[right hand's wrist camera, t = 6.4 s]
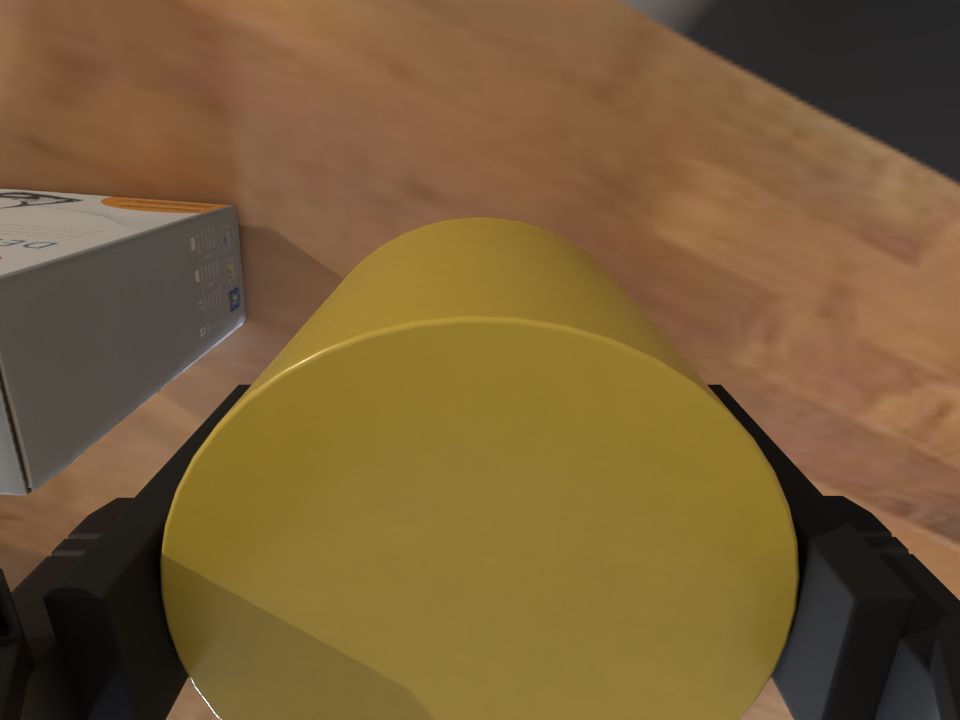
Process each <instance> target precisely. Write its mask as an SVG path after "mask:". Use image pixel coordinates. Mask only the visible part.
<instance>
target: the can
mask: <svg viewBox="0 0 960 720" xmlns="http://www.w3.org/2000/svg"><path fill="white" fill-rule="evenodd" d="M160 566H161V596H162V601H163V606H164V611H165V616H166V621H167V626H168V630H169V632H170V635H171V638H172V641H173V643H174V646H175V649H176V652H177V654H178V657H179V659H180V661H181V663H182V665H183V667H184V669H185V670H186V672H187V674H188V676H189V678H190V680H191V681H192V683H193V685H194V687H195V688H196V690H197V691H198V692H199V694H200V695H201V697H202V698H203V699H204V701H205V702H206V703H207V705H208V706H209V707H210V709H211V710H212V711H213V713H214V714H215V715H216V716H217V717H218V718H219V719H220V720H740V719H741V717H742V716H743V715H744V714H745V713H746V711H747V710H748V709H749V708H750V707H751V705H752V704H753V703H754V702H755V701H756V699H757V698H758V696H759V695H760V693H761V691H762V690H763V688H764V687H765V685H766V683H767V682H768V680H769V679H770V677H771V676H772V674H773V672H774V670H775V668H776V666H777V664H778V661H779V659H780V657H781V655H782V652H783V650H784V648H785V646H786V643H787V640H788V637H789V633H790V630H791V626H792V622H793V619H794V615H795V611H796V603H797V594H798V585H799V564H798V547H797V538H796V534H795V529H794V525H793V521H792V516H791V512H790V508H789V504H788V502H787V500H786V497H785V495H784V493H783V490H782V488H781V485H780V483H779V481H778V478H777V476H776V474H775V471H774V470H773V468H772V467H771V465H770V463H769V462H768V460H767V459H766V457H765V455H764V454H763V452H762V451H761V449H760V448H759V446H758V444H757V443H756V441H755V440H754V438H753V437H752V436H751V435H750V434H749V433H748V431H747V430H746V429H745V428H744V427H743V426H742V424H741V423H740V422H739V421H738V420H737V419H736V418H735V416H734V415H733V414H732V413H731V412H730V411H729V410H728V408H727V407H726V406H725V405H724V404H723V403H722V402H721V400H720V399H719V398H718V397H717V396H716V395H715V393H714V392H713V391H712V390H711V389H710V388H709V387H708V385H707V384H706V383H705V382H704V381H703V380H702V379H701V377H700V376H699V375H698V374H697V373H696V372H695V371H694V369H693V368H692V367H691V366H690V365H689V364H688V362H687V361H686V360H685V359H684V358H683V357H682V356H681V354H680V353H679V352H678V351H677V350H676V349H675V348H674V346H673V345H672V344H671V343H670V342H669V341H668V340H667V338H666V337H665V336H664V335H663V334H662V333H661V331H660V330H659V329H658V328H657V327H656V326H655V325H654V323H653V322H652V321H651V320H650V319H649V318H648V317H647V315H646V314H645V313H644V312H643V311H642V310H641V309H640V307H639V306H638V305H637V304H636V303H635V302H634V300H633V299H632V298H631V297H630V296H629V295H628V294H627V292H626V291H625V290H624V289H623V288H622V287H621V286H620V284H619V283H618V282H617V281H616V280H615V279H614V278H613V276H612V275H611V274H610V273H609V272H608V271H607V270H606V268H605V267H604V266H602V265H601V264H600V263H599V262H598V261H597V260H595V259H594V258H593V257H592V256H591V255H590V254H588V253H587V252H586V251H584V250H583V249H581V248H580V247H578V246H577V245H575V244H573V243H572V242H570V241H569V240H567V239H565V238H563V237H561V236H559V235H557V234H554V233H552V232H550V231H548V230H546V229H543V228H540V227H536V226H533V225H530V224H527V223H523V222H519V221H513V220H507V219H501V218H480V217H471V218H461V219H452V220H446V221H442V222H438V223H433V224H429V225H425V226H422V227H420V228H417V229H415V230H412V231H410V232H407V233H404V234H402V235H400V236H399V237H397V238H395V239H393V240H391V241H389V242H388V243H386V244H384V245H382V246H381V247H380V248H378V249H377V250H376V251H374V252H373V253H372V254H370V255H369V256H368V257H366V258H365V259H364V260H362V261H361V262H360V263H359V264H358V265H357V266H356V267H355V268H354V269H353V270H352V271H351V272H350V273H349V274H348V275H347V276H346V278H345V279H344V280H343V281H342V282H341V283H340V284H339V286H338V287H337V288H336V289H335V290H334V291H333V293H332V294H331V295H330V296H329V297H328V298H327V299H326V301H325V302H324V303H323V304H322V305H321V306H320V307H319V309H318V310H317V311H316V312H315V313H314V314H313V315H312V317H311V318H310V319H309V320H308V321H307V322H306V323H305V325H304V326H303V327H302V328H301V329H300V330H299V331H298V333H297V334H296V335H295V336H294V337H293V338H292V339H291V341H290V342H289V343H288V344H287V345H286V346H285V347H284V349H283V350H282V351H281V352H280V353H279V354H278V355H277V357H276V358H275V359H274V360H273V361H272V362H271V363H270V365H269V366H268V367H267V368H266V369H265V370H264V371H263V373H262V374H261V375H260V376H259V377H258V378H257V379H256V381H255V382H254V383H253V384H252V385H251V386H250V387H249V389H248V390H247V391H246V392H245V393H244V394H243V395H242V397H241V398H240V399H239V400H238V401H237V402H236V403H235V405H234V406H233V407H232V408H231V409H230V410H229V411H228V413H227V414H226V415H225V416H224V417H223V418H222V419H221V421H220V422H219V423H218V424H217V425H216V427H215V428H214V429H213V431H212V432H211V433H210V435H209V436H208V437H207V439H206V440H205V441H204V443H203V444H202V445H201V447H200V448H199V450H198V451H197V452H196V454H195V455H194V456H193V458H192V460H191V462H190V464H189V466H188V468H187V470H186V472H185V474H184V476H183V478H182V480H181V482H180V484H179V485H178V487H177V489H176V492H175V495H174V499H173V502H172V505H171V508H170V511H169V514H168V517H167V521H166V524H165V531H164V538H163V545H162V552H161V560H160Z"/></svg>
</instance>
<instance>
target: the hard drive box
mask: <svg viewBox="0 0 960 720" xmlns="http://www.w3.org/2000/svg"><path fill="white" fill-rule="evenodd" d="M245 320H246V311H245V297H244V285H243V272H242V262H241V249H240V238H239V227H238V216H237V209H236V207H235V206H232V205H222V204H210V203H193V202H184V201H168V200H154V199H139V198H126V197H111V196H99V195H83V194H71V193H58V192H43V191H30V190H14V189H0V494H4V495H26V494H28V493H30V492H32V491H36V490H37V489H39V488H40V487H41V486H42V485H44V484H45V483H46V482H47V481H49V480H50V479H51V478H53V477H54V476H55V475H56V474H58V473H59V472H60V471H61V470H63V469H64V468H65V467H66V466H68V465H70V464H71V463H72V462H73V461H74V460H75V458H77V457H78V456H79V455H81V454H83V453H84V452H85V450H86V449H87V448H89V447H90V446H91V445H92V444H94V443H95V442H97V441H98V440H99V439H100V438H101V437H102V436H103V435H105V434H106V433H107V432H108V431H110V430H111V429H112V428H113V427H114V426H116V425H117V424H118V423H119V422H121V421H122V420H123V419H124V418H126V417H127V416H128V415H129V414H130V413H133V412H134V410H136V409H137V408H138V407H139V406H141V405H142V404H143V403H144V402H146V401H147V400H148V399H149V398H151V397H152V396H153V395H154V394H156V393H157V392H159V390H160V389H162V388H163V387H164V386H166V385H167V384H168V383H169V382H171V381H172V380H173V379H174V378H176V377H177V376H178V375H180V374H181V373H182V372H183V371H185V370H186V369H187V368H188V367H190V366H191V365H192V364H193V363H195V362H196V361H197V360H198V359H200V358H201V357H202V356H203V355H205V354H206V353H207V352H208V351H210V350H211V349H212V348H213V347H215V346H216V345H217V344H218V343H220V342H221V341H222V340H224V339H225V338H226V337H227V336H229V335H230V334H231V333H232V332H234V331H235V330H236V329H237V328H239V327H240V326H241V325H242V324H243V322H244V321H245Z"/></svg>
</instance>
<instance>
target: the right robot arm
mask: <svg viewBox="0 0 960 720" xmlns="http://www.w3.org/2000/svg"><path fill="white" fill-rule="evenodd" d="M250 386H251V385H238V386H237V387H236V388H235V389H234V391H233V392H232V393H231V394H230V395H229V396H228V397H227V398H226V399H225V400H224V401H223V402H222V404H221V405H220V406H219V407H218V408H217V409H216V410H215V411H214V412H213V413H212V414H211V415H210V417H209V418H208V419H207V420H206V421H205V422H204V423H203V424H202V425H201V426H200V427H199V428H198V430H197V431H196V432H195V433H194V434H193V435H192V436H191V437H190V438H189V439H188V440H187V441H186V443H185V444H184V445H183V446H182V447H181V448H180V449H179V450H178V451H177V452H176V453H175V454H174V456H173V457H172V458H171V459H170V460H169V461H168V462H167V463H166V464H165V465H164V466H163V467H162V469H161V470H160V471H159V472H158V473H157V474H156V475H155V476H154V477H153V478H152V479H151V480H150V482H149V483H148V484H147V485H146V486H145V487H144V488H143V489H142V490H141V491H140V492H139V494H138V495H137V496H136V497H135V498H116V499H115V500H113V501H111V502H110V503H108V504H106V505H105V506H103V507H101V508H100V509H98V510H96V511H95V512H93V513H91V514H90V515H88V516H87V517H86V518H85V519H84V520H83V521H82V522H81V523H80V524H79V525H78V526H77V527H76V528H75V529H74V530H73V531H72V532H71V533H70V534H69V537H68V539H64V540H63V541H62V542H61V543H60V544H59V545H58V546H57V547H56V548H55V549H54V550H53V551H52V555H51V556H50V557H46V558H45V559H44V560H43V561H42V562H41V563H40V564H39V565H38V566H37V567H36V568H35V569H34V570H33V571H32V572H31V573H30V574H29V575H28V576H27V577H26V578H25V579H24V580H23V581H22V582H21V583H20V584H19V585H18V586H17V587H16V588H15V589H14V590H13V591H12V592H11V593H10V590H9V587H8V584H7V581H6V578H5V575H4V573H3V570H2V569H0V720H166V718H167V716H168V714H169V712H170V710H171V708H172V706H173V704H174V703H175V701H176V699H177V697H178V695H179V693H180V691H181V689H182V687H183V685H184V684H185V682H186V680H187V678H188V674H187V672H186V670H185V669H184V667H183V665H182V663H181V661H180V659H179V657H178V654H177V652H176V649H175V646H174V643H173V641H172V638H171V635H170V632H169V630H168V626H167V621H166V616H165V611H164V606H163V601H162V596H161V566H160V560H161V552H162V545H163V538H164V531H165V524H166V521H167V517H168V514H169V511H170V508H171V505H172V502H173V499H174V495H175V492H176V489H177V487H178V485H179V484H180V482H181V480H182V478H183V476H184V474H185V472H186V470H187V468H188V466H189V464H190V462H191V460H192V458H193V456H194V455H195V454H196V452H197V451H198V450H199V448H200V447H201V445H202V444H203V443H204V441H205V440H206V439H207V437H208V436H209V435H210V433H211V432H212V431H213V429H214V428H215V427H216V425H217V424H218V423H219V422H220V421H221V419H222V418H223V417H224V416H225V415H226V414H227V413H228V411H229V410H230V409H231V408H232V407H233V406H234V405H235V403H236V402H237V401H238V400H239V399H240V398H241V397H242V395H243V394H244V393H245V392H246V391H247V390H248V389H249V387H250ZM708 387H709V388H710V389H711V390H712V391H713V392H714V393H715V395H716V396H717V397H718V398H719V399H720V400H721V402H722V403H723V404H724V405H725V406H726V407H727V408H728V410H729V411H730V412H731V413H732V414H733V415H734V416H735V418H736V419H737V420H738V421H739V422H740V423H741V424H742V426H743V427H744V428H745V429H746V430H747V431H748V433H749V434H750V435H751V436H752V437H753V438H754V440H755V441H756V443H757V444H758V446H759V448H760V449H761V451H762V452H763V454H764V455H765V457H766V459H767V460H768V462H769V463H770V465H771V467H772V468H773V470H774V471H775V474H776V476H777V478H778V481H779V483H780V485H781V488H782V490H783V493H784V495H785V497H786V500H787V502H788V504H789V508H790V512H791V516H792V521H793V525H794V529H795V534H796V538H797V547H798V564H799V585H798V594H797V603H796V611H795V615H794V619H793V622H792V626H791V630H790V633H789V637H788V640H787V643H786V646H785V648H784V650H783V652H782V655H781V657H780V659H779V661H778V664H777V666H776V668H775V670H774V672H773V674H772V676H771V677H772V679H773V681H774V682H775V684H776V686H777V688H778V690H779V692H780V694H781V696H782V698H783V700H784V701H785V703H786V705H787V707H788V709H789V711H790V713H791V715H792V717H793V719H794V720H960V601H959V600H958V599H957V598H956V597H955V596H954V595H953V594H952V593H951V592H950V591H949V590H948V589H947V588H946V587H945V586H944V585H943V584H942V583H941V582H940V581H939V580H938V579H937V578H936V577H935V576H934V575H933V574H932V573H931V572H930V571H929V570H928V569H927V568H926V567H925V566H924V565H923V564H922V563H921V562H920V561H919V560H918V559H917V558H916V557H915V556H914V555H913V554H909V552H908V549H907V548H906V547H905V546H904V545H903V544H902V543H901V542H900V541H899V540H898V539H897V538H896V537H892V535H891V534H892V533H891V532H890V531H889V530H888V529H887V528H886V527H885V526H884V525H883V524H882V523H881V522H880V521H879V520H878V519H877V518H876V517H875V516H874V515H873V514H872V513H870V512H869V511H867V510H865V509H864V508H862V507H860V506H859V505H857V504H855V503H854V502H852V501H850V500H849V499H847V498H845V497H844V496H823V495H822V494H821V493H820V492H819V491H818V490H817V489H816V487H815V486H814V485H813V484H812V483H811V482H810V481H809V480H808V479H807V478H806V477H805V476H804V474H803V473H802V472H801V471H800V470H799V469H798V468H797V467H796V466H795V465H794V464H793V463H792V461H791V460H790V459H789V458H788V457H787V456H786V455H785V454H784V453H783V452H782V451H781V450H780V448H779V447H778V446H777V445H776V444H775V443H774V442H773V441H772V440H771V439H770V438H769V437H768V435H767V434H766V433H765V432H764V431H763V430H762V429H761V428H760V427H759V426H758V425H757V424H756V422H755V421H754V420H753V419H752V418H751V417H750V416H749V415H748V414H747V413H746V412H745V410H744V409H743V408H742V407H741V406H740V405H739V404H738V403H737V402H736V401H735V400H734V399H733V397H732V396H731V395H730V394H729V393H728V392H727V391H726V390H725V389H724V388H723V387H722V386H721V385H708Z"/></svg>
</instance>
